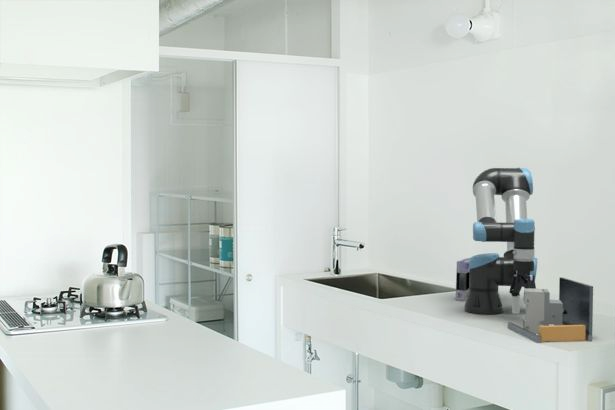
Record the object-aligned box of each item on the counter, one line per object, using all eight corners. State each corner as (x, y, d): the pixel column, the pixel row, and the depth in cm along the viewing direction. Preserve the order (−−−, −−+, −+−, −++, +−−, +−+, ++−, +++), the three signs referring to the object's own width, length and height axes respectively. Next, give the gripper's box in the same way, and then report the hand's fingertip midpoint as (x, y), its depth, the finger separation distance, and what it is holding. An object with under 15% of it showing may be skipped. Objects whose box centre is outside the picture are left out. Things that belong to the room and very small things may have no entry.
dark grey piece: (507, 327, 281) (508, 278, 280) (561, 326, 284) (562, 277, 283) (537, 342, 256) (538, 288, 255) (596, 340, 259) (597, 287, 258)
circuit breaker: (567, 335, 267) (568, 292, 266) (524, 334, 270) (525, 291, 269) (564, 331, 274) (565, 289, 274) (523, 329, 277) (523, 288, 277)
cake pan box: (464, 301, 337) (465, 261, 336) (453, 300, 339) (454, 260, 338) (480, 295, 353) (480, 257, 352) (470, 294, 355) (470, 256, 355)
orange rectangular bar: (538, 340, 259) (539, 325, 259) (582, 339, 262) (582, 324, 261) (541, 342, 257) (541, 327, 257) (585, 340, 260) (585, 325, 259)
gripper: (501, 256, 301) (500, 310, 302) (528, 263, 276) (527, 322, 277) (519, 256, 302) (518, 310, 303) (548, 263, 277) (547, 322, 278)
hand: (523, 316), depth 290 cm, fingers open, 13 cm apart
